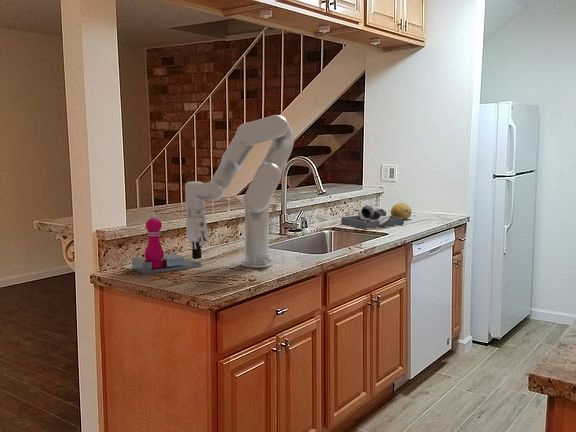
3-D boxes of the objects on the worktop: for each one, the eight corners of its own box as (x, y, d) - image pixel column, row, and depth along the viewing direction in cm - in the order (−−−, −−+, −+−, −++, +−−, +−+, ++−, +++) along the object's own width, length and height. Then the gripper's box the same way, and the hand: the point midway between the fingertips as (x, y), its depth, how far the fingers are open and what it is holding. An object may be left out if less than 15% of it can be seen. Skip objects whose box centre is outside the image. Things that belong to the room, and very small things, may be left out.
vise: (201, 266, 232) (201, 255, 231) (143, 274, 218) (142, 263, 217) (189, 261, 241) (189, 250, 240) (132, 268, 227) (131, 257, 226)
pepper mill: (156, 263, 231) (155, 212, 228) (168, 266, 226) (167, 214, 223) (140, 266, 226) (139, 214, 223) (152, 269, 221) (151, 216, 218)
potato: (395, 217, 369) (395, 201, 367) (413, 219, 361) (414, 203, 359) (387, 219, 361) (387, 202, 359) (405, 221, 353) (406, 204, 351)
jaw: (184, 264, 228) (184, 257, 228) (167, 266, 224) (167, 259, 224) (174, 260, 235) (174, 253, 235) (157, 262, 231) (157, 255, 231)
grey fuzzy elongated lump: (353, 220, 347) (354, 203, 345) (367, 219, 351) (368, 203, 349) (377, 228, 325) (378, 210, 323) (392, 227, 329) (393, 209, 327)
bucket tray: (403, 225, 339) (404, 218, 338) (366, 229, 322) (366, 222, 322) (377, 220, 356) (378, 213, 355) (341, 224, 339) (341, 217, 339)
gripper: (213, 214, 229) (214, 260, 232) (195, 210, 241) (196, 254, 244) (195, 216, 225) (197, 263, 228) (178, 211, 237) (180, 256, 240)
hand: (196, 258), depth 236 cm, fingers closed
